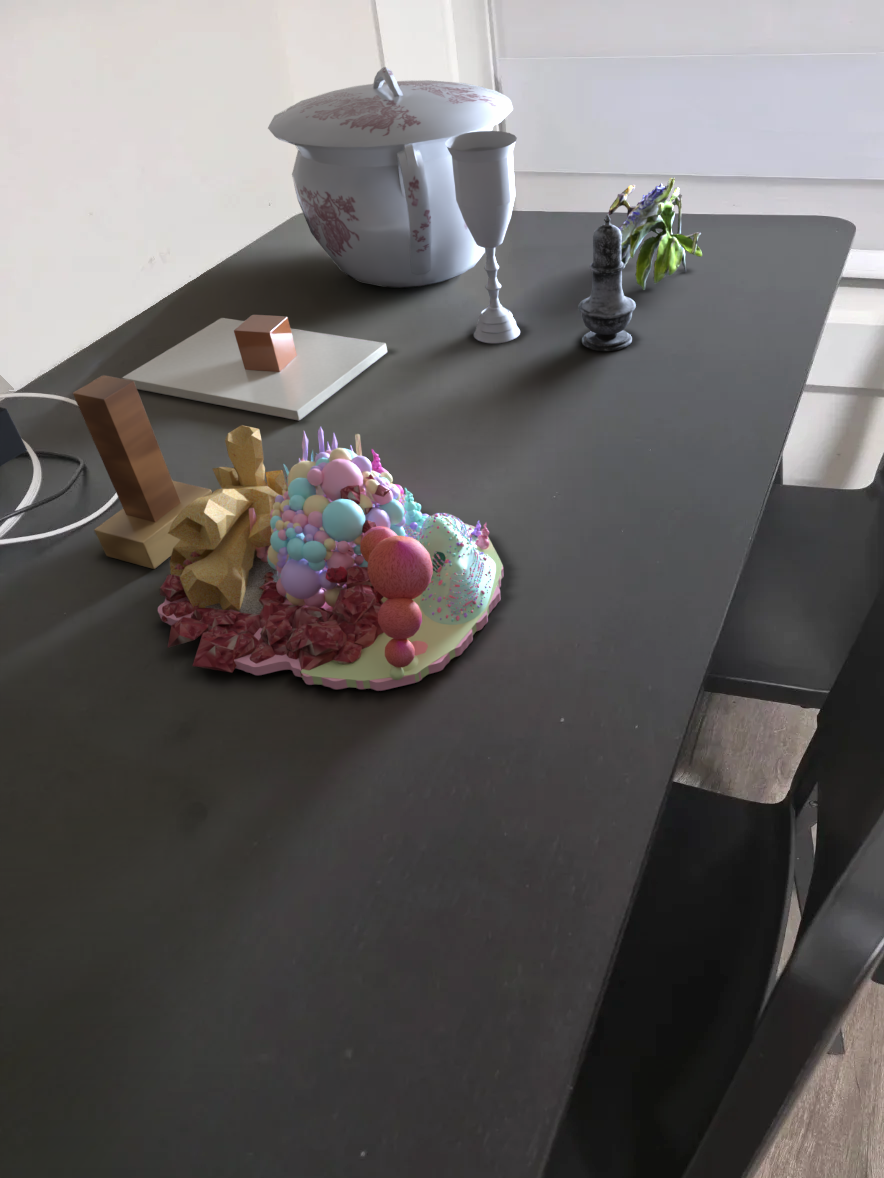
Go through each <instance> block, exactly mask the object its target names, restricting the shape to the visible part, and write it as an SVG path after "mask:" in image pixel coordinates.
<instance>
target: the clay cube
mask: <svg viewBox="0 0 884 1178" xmlns="http://www.w3.org/2000/svg"><path fill="white" fill-rule="evenodd" d="M243 321H244V322H243V323H242V324H241V325H240V326H238V327H237V328H236V329H235V330H234V334H235V337H236V340H237V344H238V347H239V351H240V354H241V358H242V361H243V364H244V368H245V370H257V371H271V372H281V371H282V370H283V369H284V368H285V367H286V366H287V365H288V364H289V363H290V362H291V361H292V360H293V359H294V358H295V357H296V356H297V353H296V349H295V345H294V341H293V337H292V333H291V329H292V328H291V325H290V321H289V317H288V316H283V315H282V316H281V315H268V314H267V315H266V314H265V315H264V314H252V315H250V316H249V317H247V319H245V320H243ZM290 328H291V329H290Z"/></svg>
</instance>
